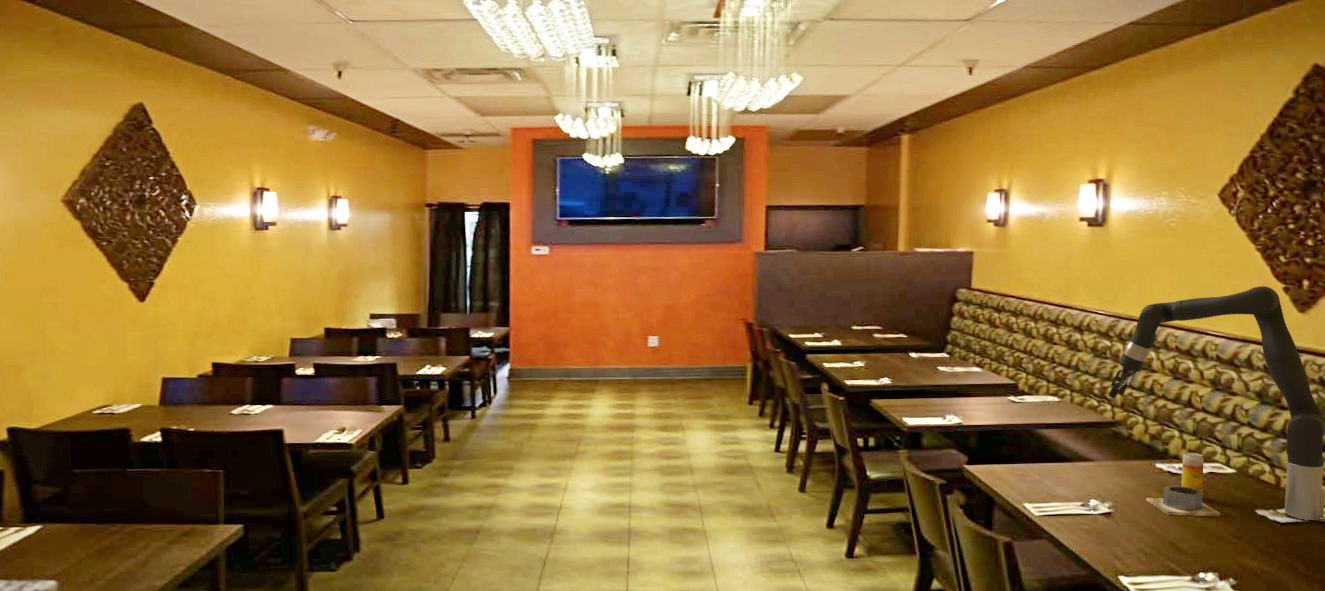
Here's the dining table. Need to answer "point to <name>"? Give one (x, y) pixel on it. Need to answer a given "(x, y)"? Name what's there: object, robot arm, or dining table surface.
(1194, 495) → the gray faceted bowl
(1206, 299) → the robot arm
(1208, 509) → the birch board
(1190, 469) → the beer can
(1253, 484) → the dining table surface
